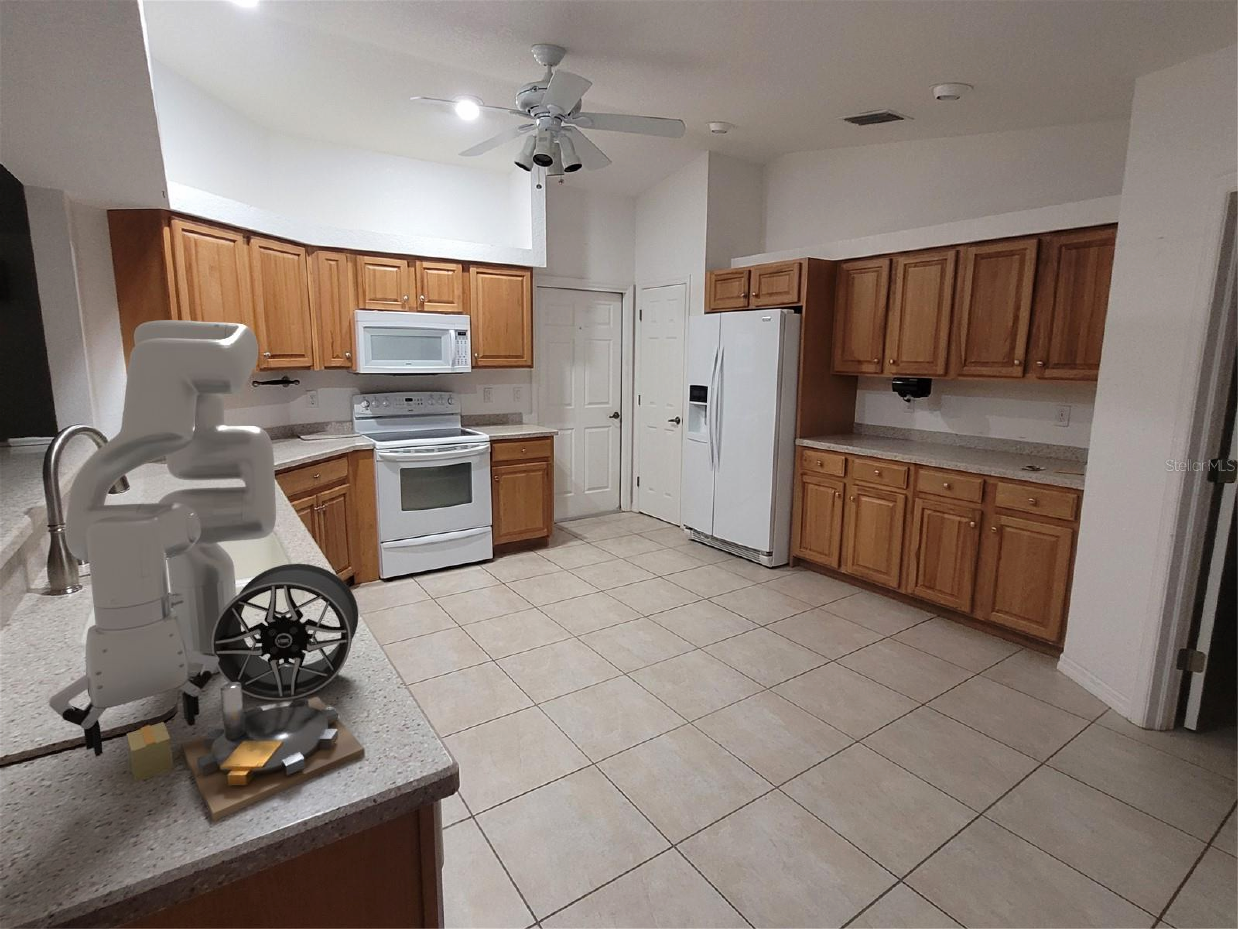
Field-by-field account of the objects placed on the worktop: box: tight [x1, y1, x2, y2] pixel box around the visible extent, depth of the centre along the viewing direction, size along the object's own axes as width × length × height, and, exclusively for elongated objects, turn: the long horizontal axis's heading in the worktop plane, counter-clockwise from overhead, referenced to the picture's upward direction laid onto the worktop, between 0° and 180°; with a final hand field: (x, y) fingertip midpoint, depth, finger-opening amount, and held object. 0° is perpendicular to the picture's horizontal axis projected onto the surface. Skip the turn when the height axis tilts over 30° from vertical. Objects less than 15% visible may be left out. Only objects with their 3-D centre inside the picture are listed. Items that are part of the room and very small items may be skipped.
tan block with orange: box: [126, 721, 174, 783], centre depth 81 cm, size 5×4×5 cm
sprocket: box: [197, 682, 339, 785], centre depth 83 cm, size 17×17×8 cm
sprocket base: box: [180, 696, 366, 821], centre depth 84 cm, size 18×18×1 cm
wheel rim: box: [211, 563, 360, 701], centre depth 100 cm, size 20×9×20 cm, turn 105°
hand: (145, 735), depth 79 cm, fingers open, 9 cm apart
